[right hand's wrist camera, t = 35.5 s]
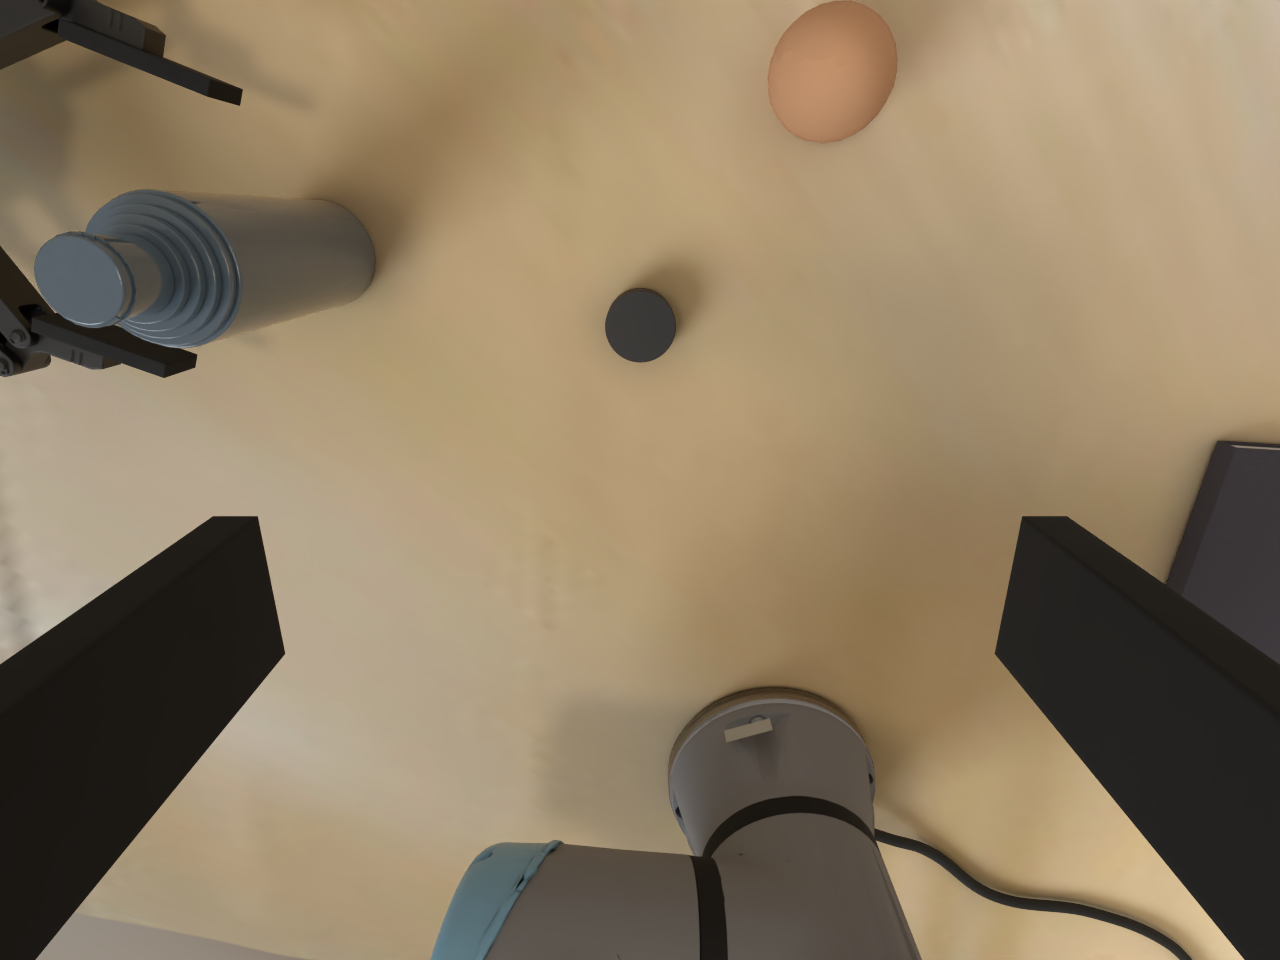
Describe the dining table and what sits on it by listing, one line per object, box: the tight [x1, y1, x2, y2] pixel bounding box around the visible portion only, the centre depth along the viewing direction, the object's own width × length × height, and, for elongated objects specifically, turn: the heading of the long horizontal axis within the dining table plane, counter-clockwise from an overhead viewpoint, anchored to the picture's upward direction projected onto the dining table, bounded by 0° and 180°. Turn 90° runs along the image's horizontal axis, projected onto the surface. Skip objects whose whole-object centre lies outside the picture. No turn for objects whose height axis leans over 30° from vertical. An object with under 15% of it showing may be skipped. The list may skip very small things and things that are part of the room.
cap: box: [605, 288, 676, 362], centre depth 42 cm, size 4×4×2 cm
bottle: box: [34, 189, 375, 348], centre depth 33 cm, size 6×6×20 cm
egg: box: [768, 1, 897, 143], centre depth 35 cm, size 6×6×8 cm
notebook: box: [1166, 441, 1280, 664], centre depth 48 cm, size 13×2×21 cm
